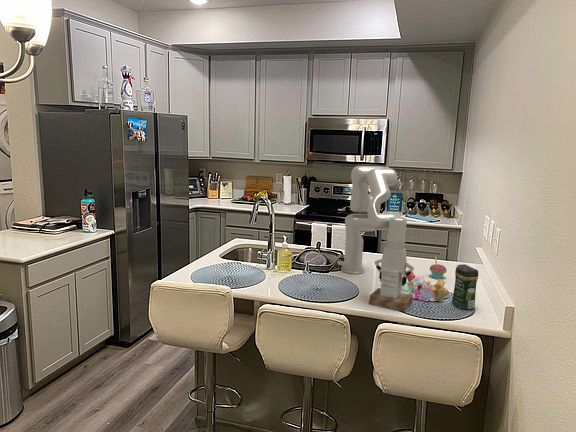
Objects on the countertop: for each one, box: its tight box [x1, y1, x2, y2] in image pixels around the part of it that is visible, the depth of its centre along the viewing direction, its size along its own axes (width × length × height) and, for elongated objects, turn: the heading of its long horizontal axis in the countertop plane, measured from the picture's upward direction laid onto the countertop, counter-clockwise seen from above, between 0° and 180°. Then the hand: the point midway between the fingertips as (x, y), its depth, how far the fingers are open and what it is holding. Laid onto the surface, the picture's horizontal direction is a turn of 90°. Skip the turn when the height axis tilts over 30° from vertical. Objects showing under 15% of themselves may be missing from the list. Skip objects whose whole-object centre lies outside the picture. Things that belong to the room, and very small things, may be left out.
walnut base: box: [368, 287, 414, 313], centre depth 196 cm, size 16×12×4 cm
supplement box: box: [380, 268, 403, 299], centre depth 195 cm, size 7×7×13 cm
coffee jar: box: [451, 263, 479, 310], centre depth 195 cm, size 10×8×19 cm
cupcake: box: [429, 255, 448, 280], centre depth 235 cm, size 9×8×12 cm
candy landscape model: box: [401, 269, 450, 303], centre depth 211 cm, size 25×24×9 cm
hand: (392, 282), depth 194 cm, fingers open, 9 cm apart
